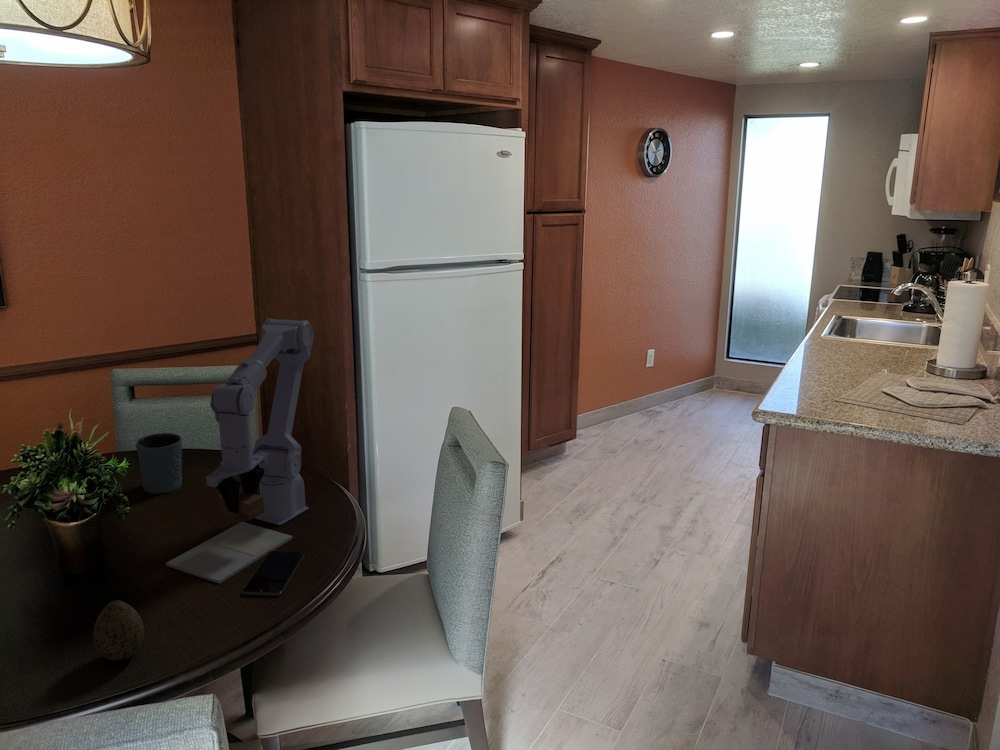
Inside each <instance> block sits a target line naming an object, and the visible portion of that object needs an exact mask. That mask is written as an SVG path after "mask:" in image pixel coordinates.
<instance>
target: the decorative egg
mask: <svg viewBox="0 0 1000 750" xmlns="http://www.w3.org/2000/svg"><path fill="white" fill-rule="evenodd" d="M144 636H145V627H144V622H143V619H142V618H141V615H140V614H139V613H138V611H137V610H136V609H135V608H134V607H132V605H130V604H128V603H127V602H125V601H122V600H121V599H120V600H119V599H116V600H115V599H114V600H112V601H110V602H109V603H108V604H107V605H106V606H105V607H104V608H103V609H102V610H101V612H100V613H99V614H98V617H97V618H96V620H95V624H94V626H93V631H92V642H93V646H94V648H95V650H96V651H97V653H98V654H99V656H101V657H102V658H103V659H106V660H108V661H111V662H121V661H124V660H127V659H129V658H131V657H132V656H134V654H135V653H137V652H138V651H139V649H140V648H141V646H142V644H143V640H144Z"/></svg>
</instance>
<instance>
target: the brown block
mask: <svg viewBox="0 0 1000 750" xmlns="http://www.w3.org/2000/svg"><path fill="white" fill-rule="evenodd" d="M238 501H239V508H238V512H237V513H233V512H230V511H228V509H227V506H226V503H225V501H224V499H223V497H222V495H221V494H219V495H218V508H219V513H222V514H226V515H230V516H233V517H235V518H240V519H244V520H247V521H251V520H253V519H255V517H257V516H259V515H260V514H262V513H264V503H263V496H260V495H259V494H256V495H255V494H252V493H248V492H244V491H243V490H240V489H239V496H238Z"/></svg>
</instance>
